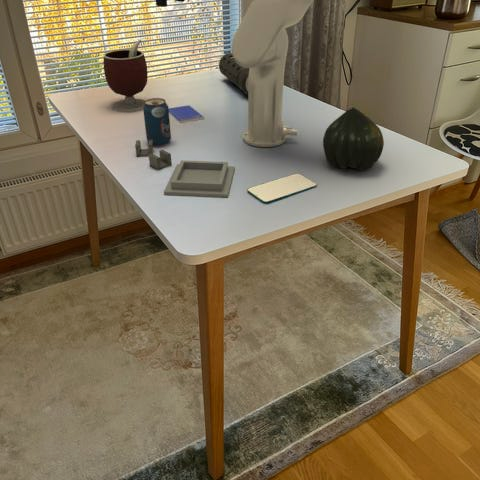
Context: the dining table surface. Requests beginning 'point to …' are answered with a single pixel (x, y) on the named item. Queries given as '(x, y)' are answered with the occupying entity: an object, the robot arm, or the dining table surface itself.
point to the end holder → (200, 179)
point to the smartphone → (281, 188)
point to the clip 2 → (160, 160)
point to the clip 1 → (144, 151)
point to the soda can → (157, 121)
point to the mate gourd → (126, 76)
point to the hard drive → (185, 114)
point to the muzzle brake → (234, 72)
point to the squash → (353, 141)
